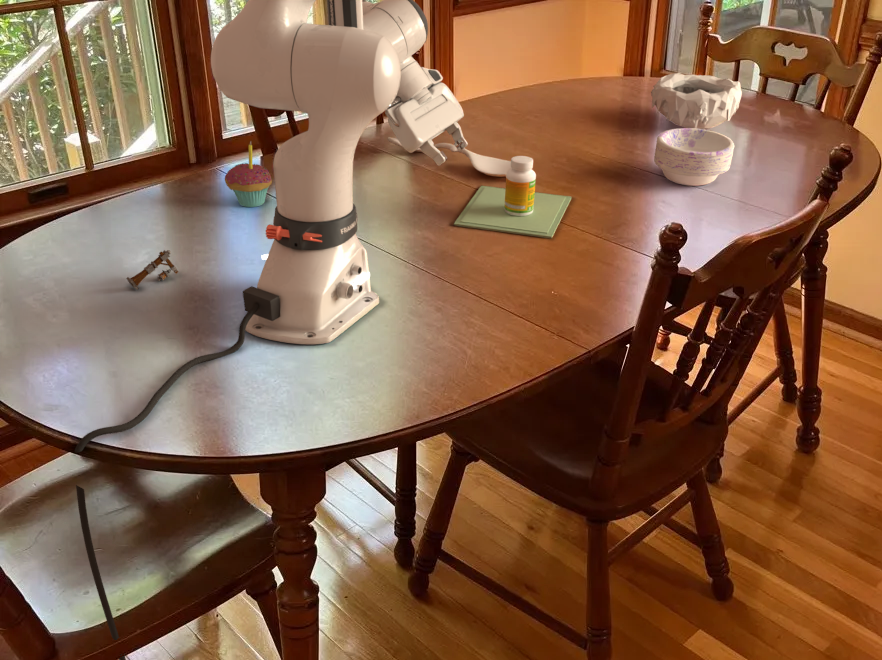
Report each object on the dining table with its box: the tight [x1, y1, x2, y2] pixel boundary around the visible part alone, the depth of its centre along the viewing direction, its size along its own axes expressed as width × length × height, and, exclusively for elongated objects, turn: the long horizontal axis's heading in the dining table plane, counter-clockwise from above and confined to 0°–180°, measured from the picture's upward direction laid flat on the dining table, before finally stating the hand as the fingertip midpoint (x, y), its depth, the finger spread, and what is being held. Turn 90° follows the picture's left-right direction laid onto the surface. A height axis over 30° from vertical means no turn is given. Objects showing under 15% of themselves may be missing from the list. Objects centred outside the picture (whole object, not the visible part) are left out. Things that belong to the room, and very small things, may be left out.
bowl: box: [650, 72, 743, 130], centre depth 213 cm, size 21×20×10 cm
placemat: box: [453, 185, 572, 239], centre depth 171 cm, size 20×18×1 cm
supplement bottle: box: [504, 155, 537, 216], centre depth 167 cm, size 5×5×10 cm
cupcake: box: [224, 140, 273, 208], centre depth 169 cm, size 9×8×12 cm
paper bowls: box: [653, 127, 735, 187], centre depth 185 cm, size 15×15×8 cm
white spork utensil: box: [387, 136, 512, 178], centre depth 191 cm, size 9×32×4 cm, turn 52°
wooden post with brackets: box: [125, 249, 179, 291], centre depth 145 cm, size 2×8×4 cm, turn 131°
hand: (453, 155), depth 169 cm, fingers open, 8 cm apart
